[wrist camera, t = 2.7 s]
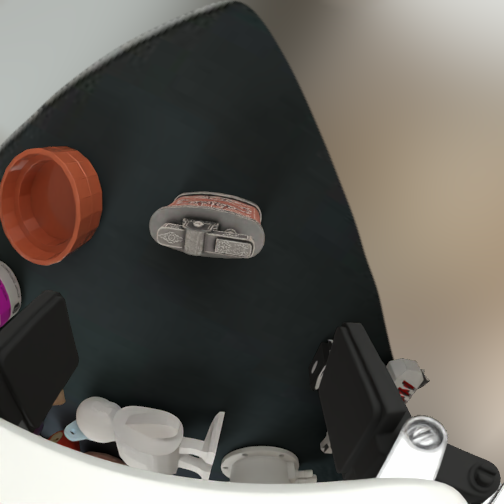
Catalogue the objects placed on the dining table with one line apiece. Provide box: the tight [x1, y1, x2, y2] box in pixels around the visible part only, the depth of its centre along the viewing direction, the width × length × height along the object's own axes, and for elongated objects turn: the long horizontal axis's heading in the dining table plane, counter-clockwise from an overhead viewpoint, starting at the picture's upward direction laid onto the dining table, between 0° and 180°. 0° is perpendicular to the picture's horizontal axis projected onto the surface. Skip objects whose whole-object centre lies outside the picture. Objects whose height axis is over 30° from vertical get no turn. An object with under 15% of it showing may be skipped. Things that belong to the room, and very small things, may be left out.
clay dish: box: [0, 146, 102, 265], centre depth 25 cm, size 11×11×5 cm
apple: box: [48, 430, 80, 452], centre depth 36 cm, size 8×7×10 cm
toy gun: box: [309, 340, 430, 453], centre depth 34 cm, size 4×22×15 cm
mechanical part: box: [64, 420, 93, 441], centre depth 34 cm, size 8×2×4 cm
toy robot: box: [76, 397, 225, 480], centre depth 33 cm, size 14×9×20 cm
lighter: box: [149, 192, 264, 258], centre depth 23 cm, size 8×3×10 cm, turn 81°
